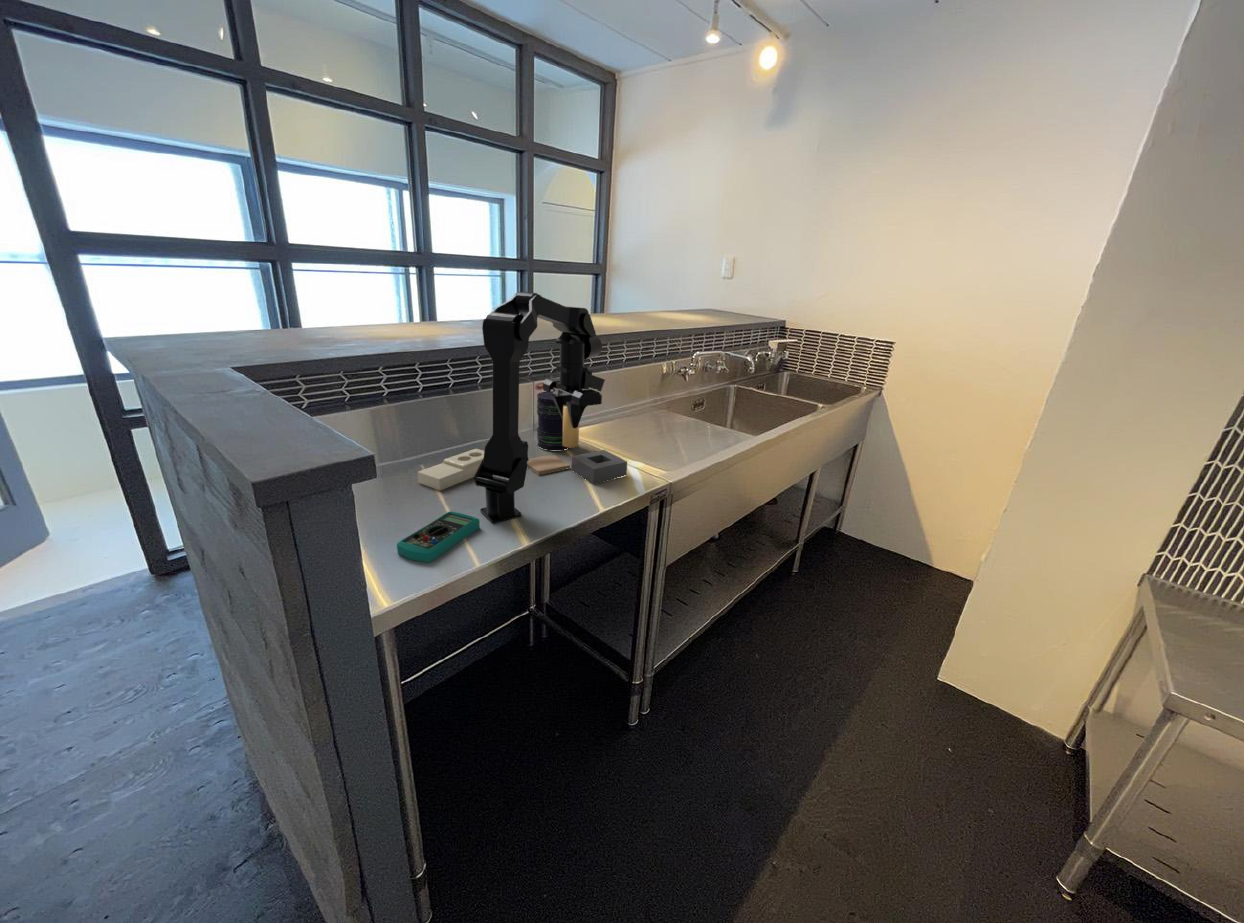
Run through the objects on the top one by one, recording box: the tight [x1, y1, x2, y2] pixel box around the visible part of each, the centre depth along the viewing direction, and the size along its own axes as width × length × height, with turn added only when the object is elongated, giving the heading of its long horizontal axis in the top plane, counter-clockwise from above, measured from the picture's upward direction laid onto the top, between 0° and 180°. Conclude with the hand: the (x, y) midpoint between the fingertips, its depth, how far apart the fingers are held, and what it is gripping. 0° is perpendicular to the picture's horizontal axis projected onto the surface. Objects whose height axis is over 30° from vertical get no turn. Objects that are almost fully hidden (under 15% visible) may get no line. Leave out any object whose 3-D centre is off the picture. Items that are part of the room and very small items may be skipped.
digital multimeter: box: [396, 510, 480, 563], centre depth 93 cm, size 7×15×3 cm, turn 159°
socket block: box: [570, 449, 628, 485], centre depth 127 cm, size 10×10×4 cm
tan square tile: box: [527, 454, 571, 476], centre depth 130 cm, size 9×9×1 cm
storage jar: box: [536, 390, 569, 450], centre depth 143 cm, size 10×10×15 cm
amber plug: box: [563, 404, 580, 449], centre depth 125 cm, size 4×4×10 cm
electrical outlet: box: [417, 448, 484, 491], centre depth 122 cm, size 7×4×18 cm
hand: (570, 425), depth 125 cm, fingers closed on amber plug, 4 cm apart
